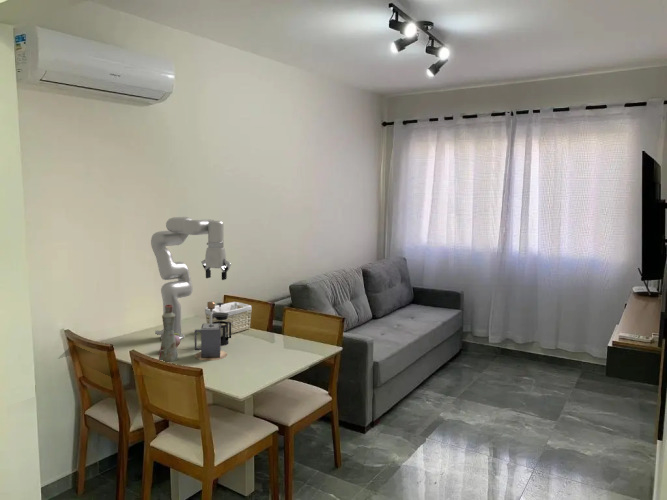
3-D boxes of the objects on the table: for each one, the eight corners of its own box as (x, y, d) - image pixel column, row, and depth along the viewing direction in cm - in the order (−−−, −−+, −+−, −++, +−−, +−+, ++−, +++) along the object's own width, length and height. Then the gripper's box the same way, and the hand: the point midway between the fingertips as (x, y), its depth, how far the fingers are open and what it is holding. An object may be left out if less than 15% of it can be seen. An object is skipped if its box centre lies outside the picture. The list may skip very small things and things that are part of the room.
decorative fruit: (175, 347, 267) (175, 328, 266) (182, 350, 262) (182, 332, 260) (158, 350, 261) (158, 331, 260) (165, 354, 255) (165, 335, 254)
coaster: (193, 362, 245) (193, 360, 245) (196, 351, 261) (196, 350, 260) (226, 361, 248) (226, 359, 248) (227, 351, 263) (227, 349, 263)
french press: (215, 349, 266) (215, 306, 263) (206, 344, 273) (206, 302, 270) (234, 344, 274) (235, 303, 271) (226, 340, 281) (226, 300, 278)
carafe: (194, 358, 248) (193, 328, 246) (195, 352, 257) (195, 323, 255) (219, 357, 250) (220, 328, 249) (220, 351, 259) (220, 323, 257)
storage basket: (221, 337, 286) (221, 312, 284) (203, 332, 296) (203, 307, 294) (252, 329, 305) (253, 305, 303) (234, 324, 315) (235, 301, 313)
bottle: (167, 365, 241) (167, 307, 237) (154, 361, 245) (154, 304, 242) (181, 360, 248) (181, 304, 245) (169, 356, 253) (168, 301, 249)
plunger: (204, 342, 249) (204, 303, 247) (205, 338, 256) (205, 300, 253) (217, 341, 251) (217, 303, 248) (218, 338, 257) (218, 300, 254)
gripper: (197, 244, 255) (197, 278, 257) (225, 247, 248) (225, 281, 250) (206, 243, 262) (206, 276, 264) (234, 245, 255) (234, 279, 257)
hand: (216, 278), depth 257 cm, fingers open, 9 cm apart
